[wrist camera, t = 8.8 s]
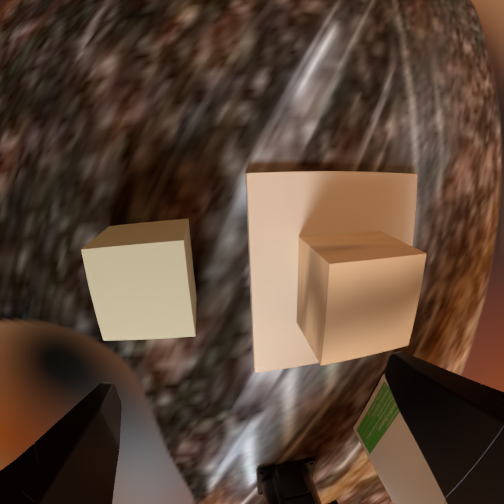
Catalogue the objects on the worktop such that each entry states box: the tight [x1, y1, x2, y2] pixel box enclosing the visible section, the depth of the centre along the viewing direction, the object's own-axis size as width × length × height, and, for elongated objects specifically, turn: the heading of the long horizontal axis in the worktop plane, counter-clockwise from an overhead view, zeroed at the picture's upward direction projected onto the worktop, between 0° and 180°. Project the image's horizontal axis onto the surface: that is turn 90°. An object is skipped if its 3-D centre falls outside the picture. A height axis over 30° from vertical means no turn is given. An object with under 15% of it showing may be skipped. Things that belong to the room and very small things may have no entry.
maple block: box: [296, 231, 426, 366], centre depth 18 cm, size 6×6×5 cm
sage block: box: [81, 219, 196, 341], centre depth 16 cm, size 5×5×5 cm
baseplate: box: [245, 171, 417, 373], centre depth 20 cm, size 14×12×1 cm
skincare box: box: [353, 373, 447, 504], centre depth 19 cm, size 8×7×16 cm
